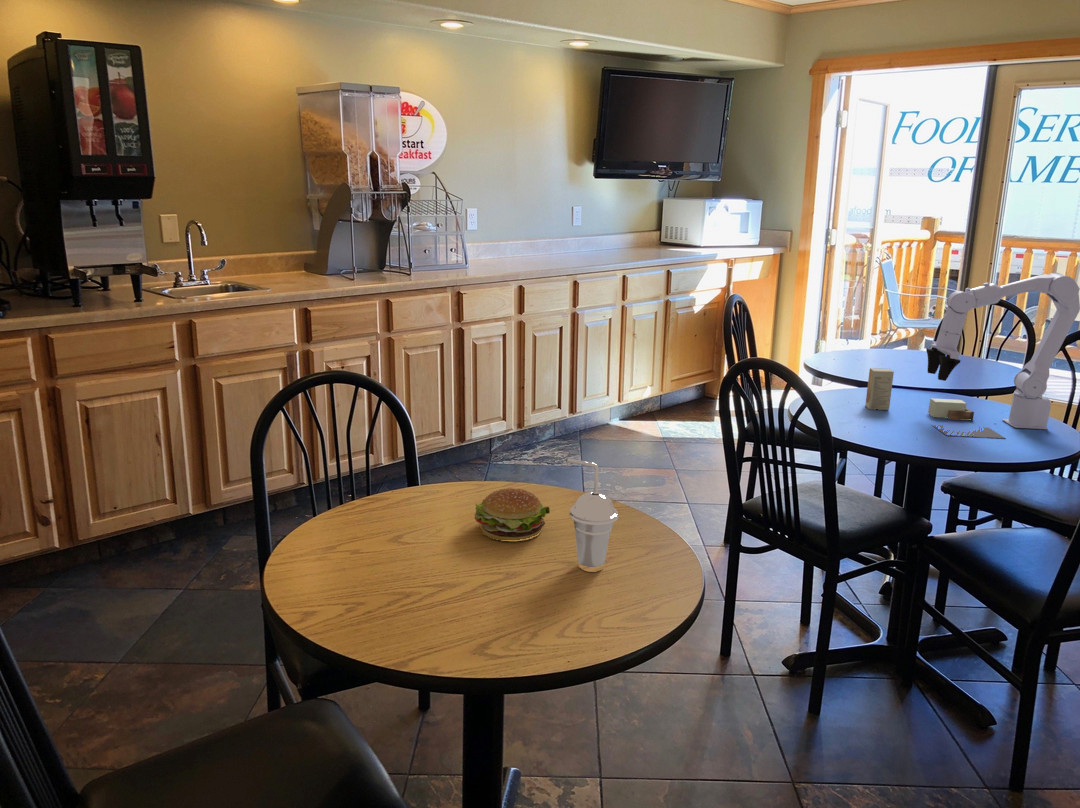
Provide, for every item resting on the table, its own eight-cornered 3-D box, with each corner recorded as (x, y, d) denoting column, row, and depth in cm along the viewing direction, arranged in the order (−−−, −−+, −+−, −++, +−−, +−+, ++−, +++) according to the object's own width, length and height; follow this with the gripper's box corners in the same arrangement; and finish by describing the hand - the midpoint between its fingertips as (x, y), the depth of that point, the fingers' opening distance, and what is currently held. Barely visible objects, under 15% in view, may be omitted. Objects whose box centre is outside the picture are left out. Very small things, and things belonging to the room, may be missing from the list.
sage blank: (958, 415, 253) (961, 399, 252) (963, 419, 249) (966, 403, 248) (927, 414, 254) (930, 398, 252) (932, 417, 250) (935, 401, 248)
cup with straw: (605, 582, 141) (611, 470, 136) (556, 570, 145) (561, 461, 140) (621, 562, 149) (629, 456, 143) (575, 551, 152) (580, 447, 147)
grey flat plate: (988, 428, 240) (988, 427, 240) (1005, 438, 231) (1005, 438, 231) (931, 425, 241) (932, 424, 241) (946, 436, 231) (946, 435, 231)
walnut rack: (962, 414, 254) (963, 406, 254) (972, 420, 248) (974, 412, 247) (939, 413, 255) (940, 405, 254) (948, 419, 248) (950, 411, 247)
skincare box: (885, 406, 259) (890, 368, 256) (889, 410, 255) (895, 371, 252) (863, 405, 260) (869, 367, 257) (867, 409, 256) (873, 370, 253)
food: (458, 535, 158) (459, 496, 155) (500, 512, 169) (501, 475, 167) (520, 554, 151) (521, 513, 149) (559, 528, 162) (561, 490, 160)
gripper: (926, 324, 251) (913, 368, 255) (947, 335, 237) (933, 380, 241) (950, 328, 251) (936, 372, 255) (971, 339, 237) (957, 384, 241)
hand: (936, 376), depth 248 cm, fingers open, 7 cm apart
